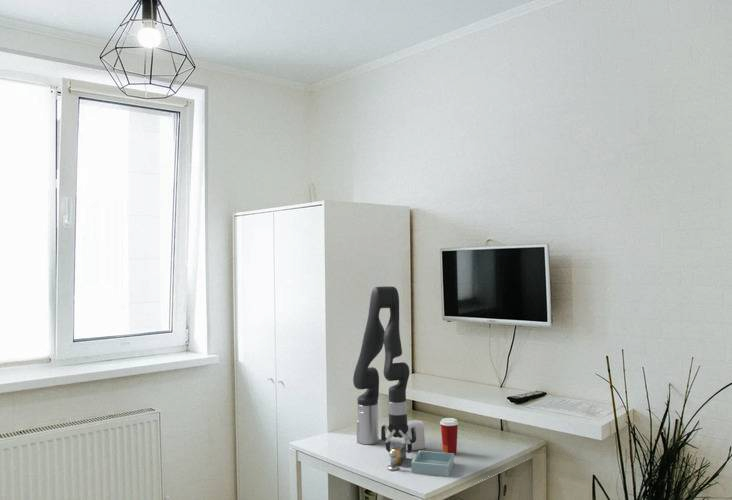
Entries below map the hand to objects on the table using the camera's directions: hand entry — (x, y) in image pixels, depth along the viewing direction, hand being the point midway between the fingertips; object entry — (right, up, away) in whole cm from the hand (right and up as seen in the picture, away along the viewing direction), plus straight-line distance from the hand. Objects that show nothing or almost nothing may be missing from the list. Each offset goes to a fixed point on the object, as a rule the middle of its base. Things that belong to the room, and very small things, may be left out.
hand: (399, 451), depth 236 cm
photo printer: (+7, -4, +15) cm, 17 cm away
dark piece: (0, -4, +1) cm, 4 cm away
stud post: (-3, -4, -8) cm, 9 cm away
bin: (+13, -4, -8) cm, 16 cm away
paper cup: (+22, -4, +9) cm, 24 cm away
